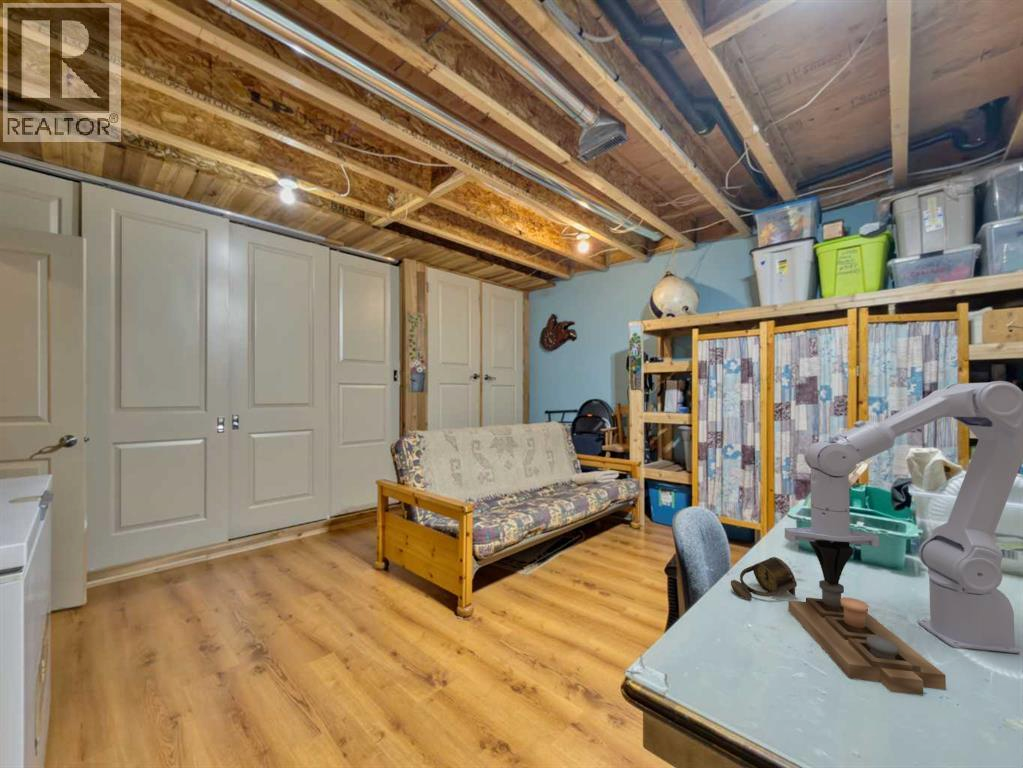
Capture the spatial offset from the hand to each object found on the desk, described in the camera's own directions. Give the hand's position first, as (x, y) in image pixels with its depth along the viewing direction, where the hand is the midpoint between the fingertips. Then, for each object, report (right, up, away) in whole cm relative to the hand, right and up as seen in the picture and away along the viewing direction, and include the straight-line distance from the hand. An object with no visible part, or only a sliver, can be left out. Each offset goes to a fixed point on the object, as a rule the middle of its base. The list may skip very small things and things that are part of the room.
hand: (831, 582), depth 78 cm
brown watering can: (-6, -8, +12) cm, 15 cm away
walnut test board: (-1, -7, -7) cm, 10 cm away
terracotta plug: (-1, -4, -7) cm, 8 cm away
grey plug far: (0, -4, 0) cm, 4 cm away
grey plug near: (-3, -6, -14) cm, 15 cm away
